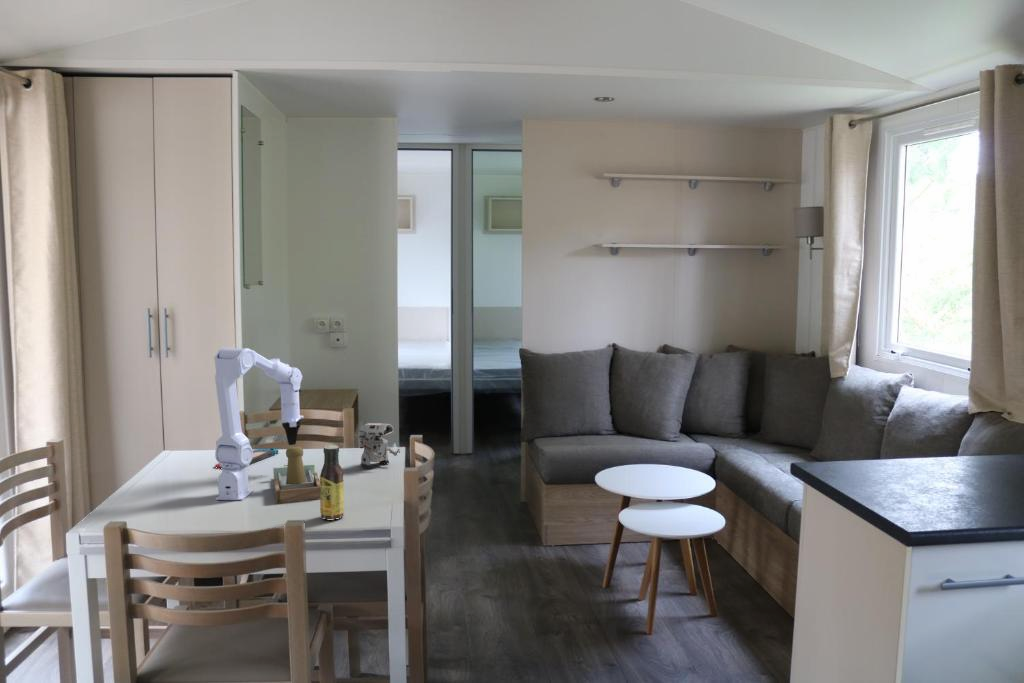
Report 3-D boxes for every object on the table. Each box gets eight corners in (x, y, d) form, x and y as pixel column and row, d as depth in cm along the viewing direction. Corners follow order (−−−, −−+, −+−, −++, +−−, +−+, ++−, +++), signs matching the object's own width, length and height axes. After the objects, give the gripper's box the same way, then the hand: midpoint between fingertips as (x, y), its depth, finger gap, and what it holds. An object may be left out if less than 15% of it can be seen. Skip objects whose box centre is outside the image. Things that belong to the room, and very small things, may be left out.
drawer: (319, 487, 239) (318, 477, 239) (275, 492, 235) (275, 481, 235) (313, 471, 257) (313, 461, 257) (273, 475, 253) (272, 465, 253)
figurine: (379, 472, 258) (378, 427, 257) (357, 467, 266) (356, 423, 264) (400, 467, 265) (399, 423, 264) (378, 461, 273) (377, 418, 271)
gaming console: (257, 447, 289) (280, 447, 286) (258, 454, 289) (281, 454, 286) (212, 464, 267) (236, 464, 263) (212, 471, 267) (237, 471, 263)
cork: (296, 483, 236) (294, 446, 237) (281, 484, 239) (279, 448, 240) (310, 481, 241) (308, 445, 242) (296, 482, 244) (294, 446, 245)
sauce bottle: (316, 517, 214) (313, 446, 212) (337, 512, 218) (334, 442, 216) (327, 523, 209) (325, 450, 207) (348, 518, 213) (346, 446, 211)
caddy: (322, 498, 231) (321, 487, 231) (276, 503, 227) (276, 491, 227) (317, 483, 247) (316, 472, 246) (274, 487, 243) (274, 476, 242)
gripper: (305, 406, 252) (307, 448, 253) (300, 398, 265) (302, 438, 267) (282, 408, 249) (284, 450, 251) (278, 400, 263) (280, 440, 264)
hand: (292, 444), depth 259 cm, fingers closed
